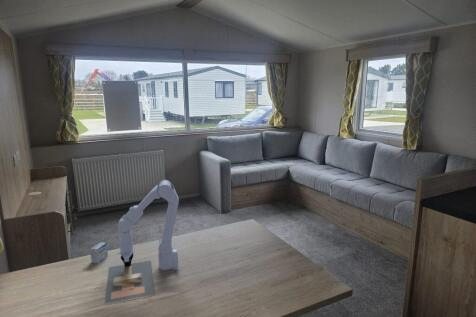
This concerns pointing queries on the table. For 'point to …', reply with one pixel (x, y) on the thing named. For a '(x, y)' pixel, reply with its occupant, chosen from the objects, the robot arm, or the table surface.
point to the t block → (127, 278)
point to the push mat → (131, 289)
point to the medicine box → (98, 252)
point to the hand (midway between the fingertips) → (128, 268)
